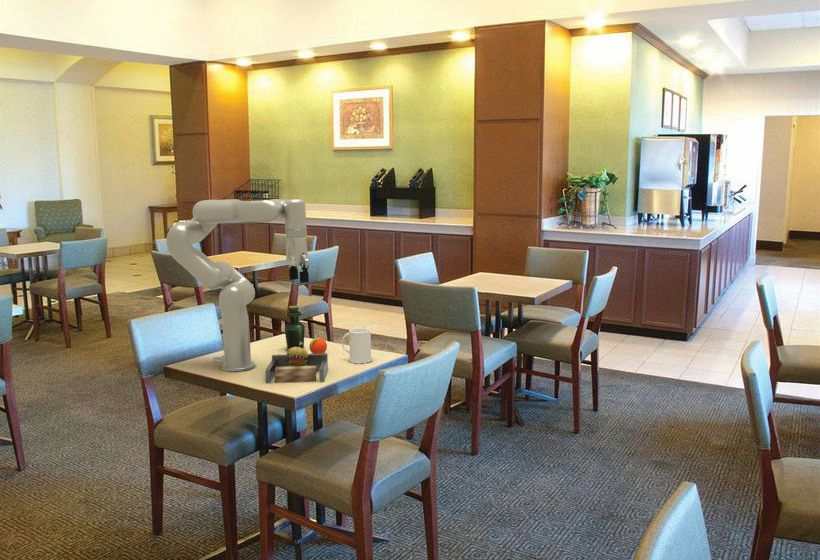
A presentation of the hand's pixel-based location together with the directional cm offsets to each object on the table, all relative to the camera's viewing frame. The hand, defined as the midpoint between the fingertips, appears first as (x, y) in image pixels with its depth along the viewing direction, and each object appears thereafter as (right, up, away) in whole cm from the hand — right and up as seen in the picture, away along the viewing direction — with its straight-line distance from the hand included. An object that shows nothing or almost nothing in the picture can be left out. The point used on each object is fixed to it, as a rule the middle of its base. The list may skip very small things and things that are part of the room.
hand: (299, 280), depth 252 cm
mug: (+20, -31, +15) cm, 39 cm away
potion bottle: (-7, -28, +32) cm, 43 cm away
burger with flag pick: (0, -34, -3) cm, 34 cm away
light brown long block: (0, -35, -10) cm, 36 cm away
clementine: (+4, -30, +23) cm, 38 cm away
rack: (0, -34, -4) cm, 34 cm away
